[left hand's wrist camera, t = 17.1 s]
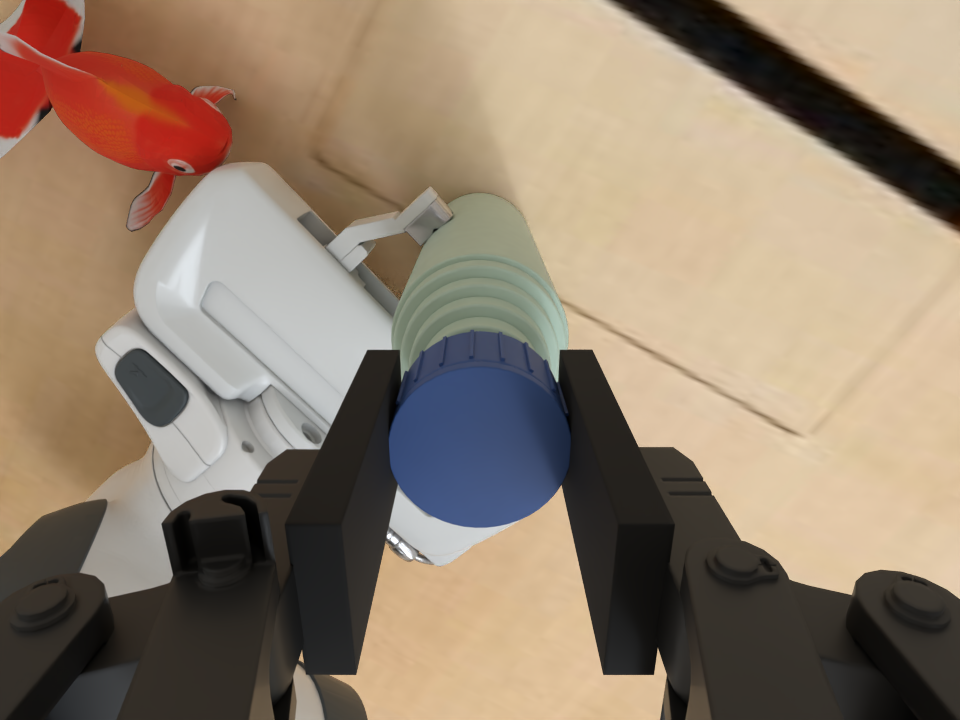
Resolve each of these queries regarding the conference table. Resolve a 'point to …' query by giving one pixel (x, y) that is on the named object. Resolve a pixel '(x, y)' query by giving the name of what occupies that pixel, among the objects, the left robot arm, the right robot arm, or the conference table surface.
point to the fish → (106, 102)
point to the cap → (479, 431)
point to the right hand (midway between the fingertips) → (494, 260)
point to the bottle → (480, 284)
